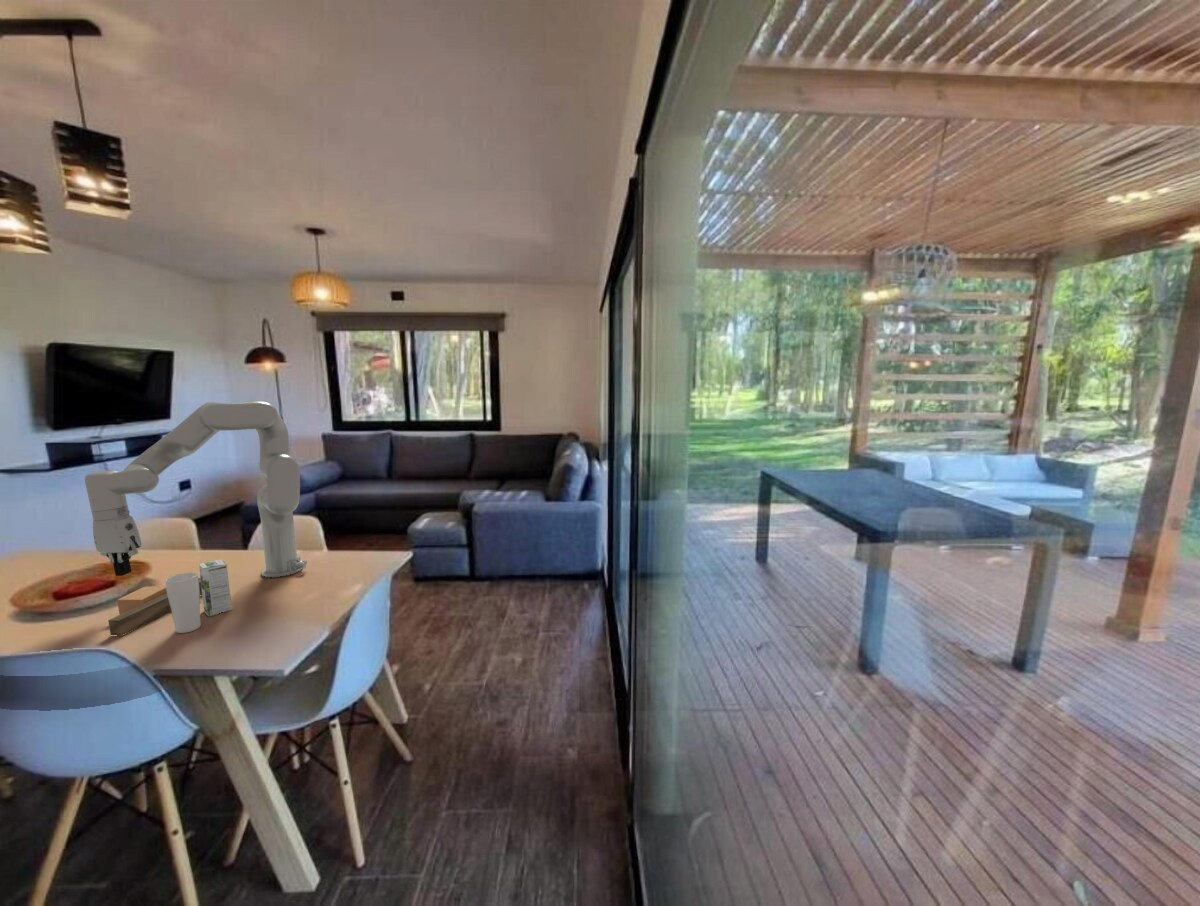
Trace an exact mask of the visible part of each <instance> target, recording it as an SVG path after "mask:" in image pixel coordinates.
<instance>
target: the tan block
mask: <svg viewBox="0 0 1200 906" xmlns="http://www.w3.org/2000/svg"><path fill="white" fill-rule="evenodd" d="M166 593H167V591H166V585H164V586H163V585H160V586H158V585H157V586H156V585H155V586H152V585H151V586H143V587H141V588H139V589H137V590H135V591H132V592H130V593H128V594H127V595H124V596H121V597H120V598H117V599H116V600H117V608H118V613H119V615H120V614H123V613H125V612H127V611H129V610H131V609H133V608H136V607H138V606H140V605H142V604H144V603H146V602H148V601H151V600H153V599H155V598H157V597H159V596H161V595H164V594H166Z"/></svg>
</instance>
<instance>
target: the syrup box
mask: <svg viewBox="0 0 1200 906" xmlns="http://www.w3.org/2000/svg"><path fill="white" fill-rule="evenodd" d="M198 566H199V573H200V574H199V575H200V577H199V578H201V587H202V596H201V597H202V603H203V604H202V605H203V611H204V613H205V614H206V616H207V617H212V616H211V615H213V616H215V614H216V615H218V614H219V613H220V614H222V613H221V612H223V613H225V612H224V611H226V612H228V611H227V610H229V611H232V610H231V609H232V601H231V600H232V599H231V590H230V583H229V582H230V581H229V572H228V564H227V563H226V562H225V561H224V560H223V559H217V560H216V559H215V560H211V561H206V562H203V563H199V565H198ZM220 614H219V615H220Z"/></svg>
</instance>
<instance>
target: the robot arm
mask: <svg viewBox="0 0 1200 906" xmlns="http://www.w3.org/2000/svg"><path fill="white" fill-rule="evenodd" d="M242 430H244V431H245V430H255V431H257V434H258V438H259V439H258V440H259V470H260V473H261V474H262V475H263V477H265V478H266V484H264V485H262V487H260V488H259V490H258V492H257V495H256V503H257V504H256V505H257V507H258V513H259V518H260V523H261V533H262V545H263V553H264V564H265V567H264V568H262V570H261V571H260V574H261V576H262V577H264V576H265V577H264V578H270V577H272V578H281V577H280V576H282V577H287V576H291V575H293V574H296V573H298V571H299V572H300V571H302V570H303V569H305V568H306V567H307V565H308V560H301V556H300V555H298V550H297V541H296V531H295V530H296V529H295V519H294V513H293V512H294V511H296V510H297V508H298V506H299V503H300V498H301V495H300V494H301V471H300V467H299V464H298V463H299V462H298V461H297V460H296V459H295V458H294V457H293V456H291V453H290V452H291V451H290V436H289V430H288V427H287V425H286V422H285V421H284V419H283V418H282V417H281V415H280V414H279V413H278V410H277V408H276V407H275V406H274V405H273V404H271V403H269V402H265V401H262V400H261V401H260V400H250V401H246V402H217V401H209V402H206V403H204V404H203V403H202V405H201V406H199V407H198V408H197V409H196V410H194V411H193V412H192V413H191V414H189V415H188V416H187V417H186V418H185V419H184V420H182V422H180V423H179V424H178V425H177V426H175V427H174V428H173V429H172V430H170V431H169V432H168V433H167V434H166V435H164V436H163V437H161V438H160V439H159V440H158V441H157V442H155V443H154V444H153V445H151V446H150V447H148V448H147V449H146V450H145V451H143V452H142V453H140V455H138V456H137V458H136V457H135V459H134V460H133V461H131V462H130V463H129V464H128V465H127V466H125V468H124V469H123V470H122V471H118V470H114V469H109V470H106V469H105V470H98V471H93V472H91V473H88V474H86V475H85V477H84V483H85V488H86V492H87V497H88V502H89V506H90V510H91V515H92V535H93V542H94V546H95V550H96V551H97V552H98V553H100V555H101V556H103V557H107V558H108V559H109V561H110V563H111V564H112V565H113V570H114V575H115V576H116V577H123V576H125V575H127V574H130V573H131V572H132V568H131V562H130V560H132V556H136V555H137V554H139V550H138V549H139V548H141V547H142V539H141V536H140V531H139V528H138V525H137V523H136V521H135V519H134V518H133V516H132V515H130V509H129V507H128V502H127V497H126V495H127V494H129V495H131V494H144V493H148V492H151V491H153V490H154V489H155V488H157V486H158V485H159V482H160V478H159V476H160V475H161V474H162V473H163V472H164V471H165V470H166V469H168V468H169V467H170V466H171V465H173V464H174V463H176V462H177V461H180V460H181V459H184V458H187V457H189V456H191V455H192V454H194V453H195V452H197V451H198V450H199V449H200V448H201V447H203V446H204V445H205V444H206V443H207V442H208V441H210V439H212V438H213V437H214V436H215V435H216V434H218V433H219V432H220V431H242ZM301 569H302V570H301ZM290 574H291V575H290ZM286 575H287V576H286Z"/></svg>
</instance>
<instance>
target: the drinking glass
mask: <svg viewBox="0 0 1200 906" xmlns="http://www.w3.org/2000/svg"><path fill="white" fill-rule="evenodd" d="M198 578H199V576H198V573H196V572H183V573H178V574H174V575H172V576H169V577H167V578H166V579H165V586H166V591H167V596H168V600H169V604H170V608H171V611H170V612H171V614H172V619H173V623H174V628H175V632H176V633H179V634H187V633H191V632H194V631H196V630H198V629H200V627H201V623H202V622H201V605H200V604H201V603H200V602H201V601H200V599H201V596H200V591H199V581H198Z"/></svg>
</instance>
